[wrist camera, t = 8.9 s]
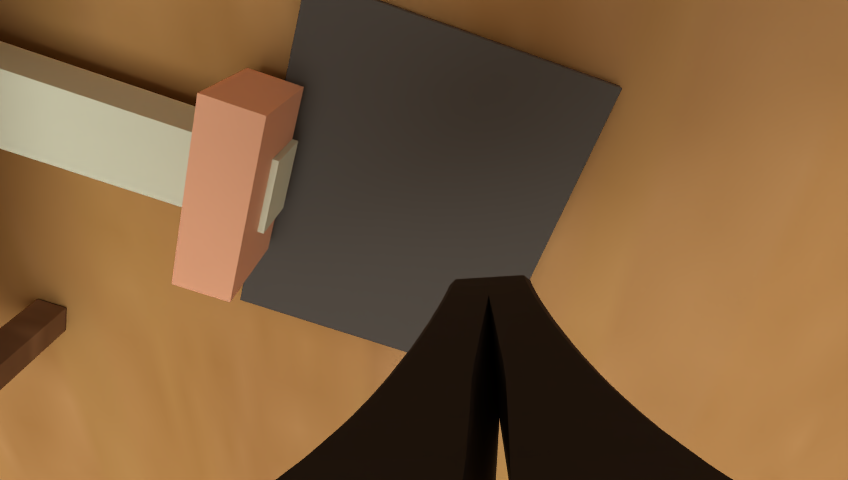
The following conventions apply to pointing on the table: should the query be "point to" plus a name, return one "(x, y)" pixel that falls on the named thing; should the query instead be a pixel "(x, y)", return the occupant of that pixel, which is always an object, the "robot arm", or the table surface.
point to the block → (165, 153)
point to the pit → (417, 167)
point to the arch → (28, 336)
